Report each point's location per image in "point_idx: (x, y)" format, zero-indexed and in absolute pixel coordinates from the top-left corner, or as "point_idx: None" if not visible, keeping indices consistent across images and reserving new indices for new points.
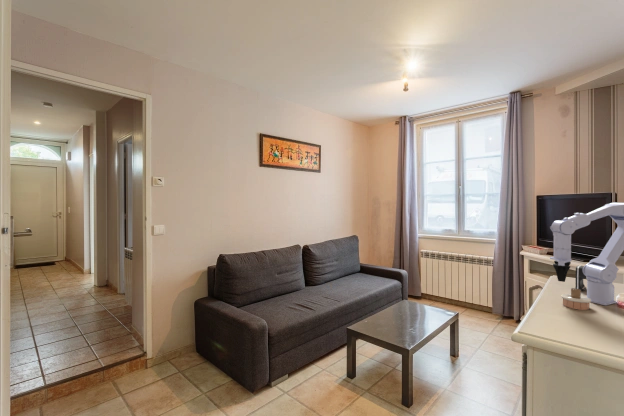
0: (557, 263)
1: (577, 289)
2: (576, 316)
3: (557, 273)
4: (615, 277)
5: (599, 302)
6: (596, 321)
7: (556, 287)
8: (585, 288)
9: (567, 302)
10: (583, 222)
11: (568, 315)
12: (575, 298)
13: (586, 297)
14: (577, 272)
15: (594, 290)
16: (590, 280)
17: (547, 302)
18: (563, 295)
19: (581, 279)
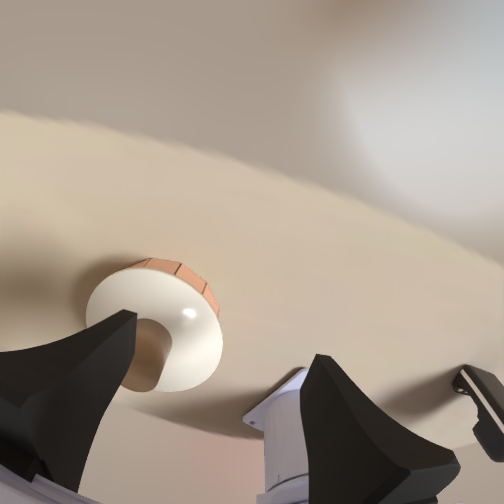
0: (370, 475)
1: (135, 379)
2: (20, 266)
3: (65, 344)
4: None
5: (264, 412)
6: (15, 314)
7: (496, 298)
8: (467, 394)
9: None
10: None
11: (14, 240)
12: None
13: (186, 386)
14: (502, 425)
15: (275, 444)
16: (298, 479)
17: (158, 182)
18: (155, 285)
19: (478, 414)
